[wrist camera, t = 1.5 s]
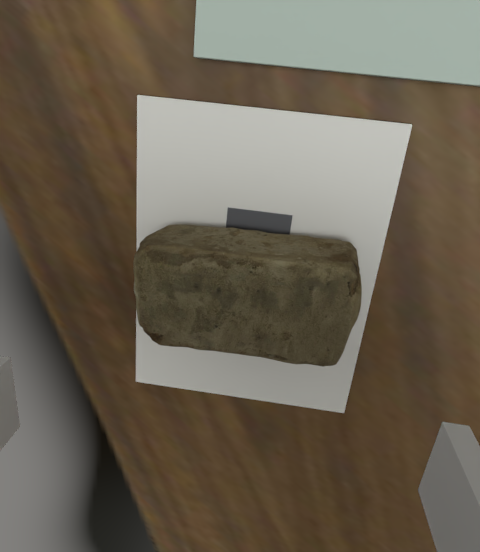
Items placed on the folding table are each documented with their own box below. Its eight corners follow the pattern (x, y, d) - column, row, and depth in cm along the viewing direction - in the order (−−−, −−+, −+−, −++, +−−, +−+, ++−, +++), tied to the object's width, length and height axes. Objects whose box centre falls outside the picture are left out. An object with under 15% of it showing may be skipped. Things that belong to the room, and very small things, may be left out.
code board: (343, 410, 29) (344, 414, 29) (137, 379, 30) (135, 382, 30) (411, 123, 22) (412, 124, 22) (139, 94, 23) (136, 94, 23)
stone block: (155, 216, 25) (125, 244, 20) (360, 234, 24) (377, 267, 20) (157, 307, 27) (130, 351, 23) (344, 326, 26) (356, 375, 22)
